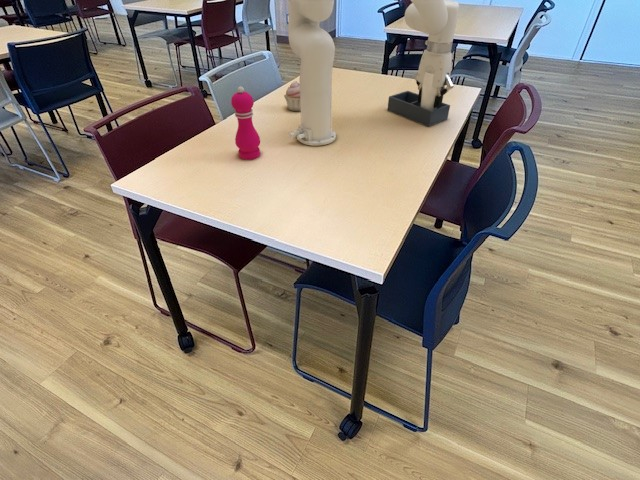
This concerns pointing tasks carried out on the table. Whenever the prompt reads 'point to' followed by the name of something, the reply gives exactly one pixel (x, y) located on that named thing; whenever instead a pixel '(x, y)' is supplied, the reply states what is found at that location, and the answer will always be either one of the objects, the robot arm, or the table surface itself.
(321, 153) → the table surface
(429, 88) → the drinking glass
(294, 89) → the cupcake
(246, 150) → the pepper mill
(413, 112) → the glass rack
